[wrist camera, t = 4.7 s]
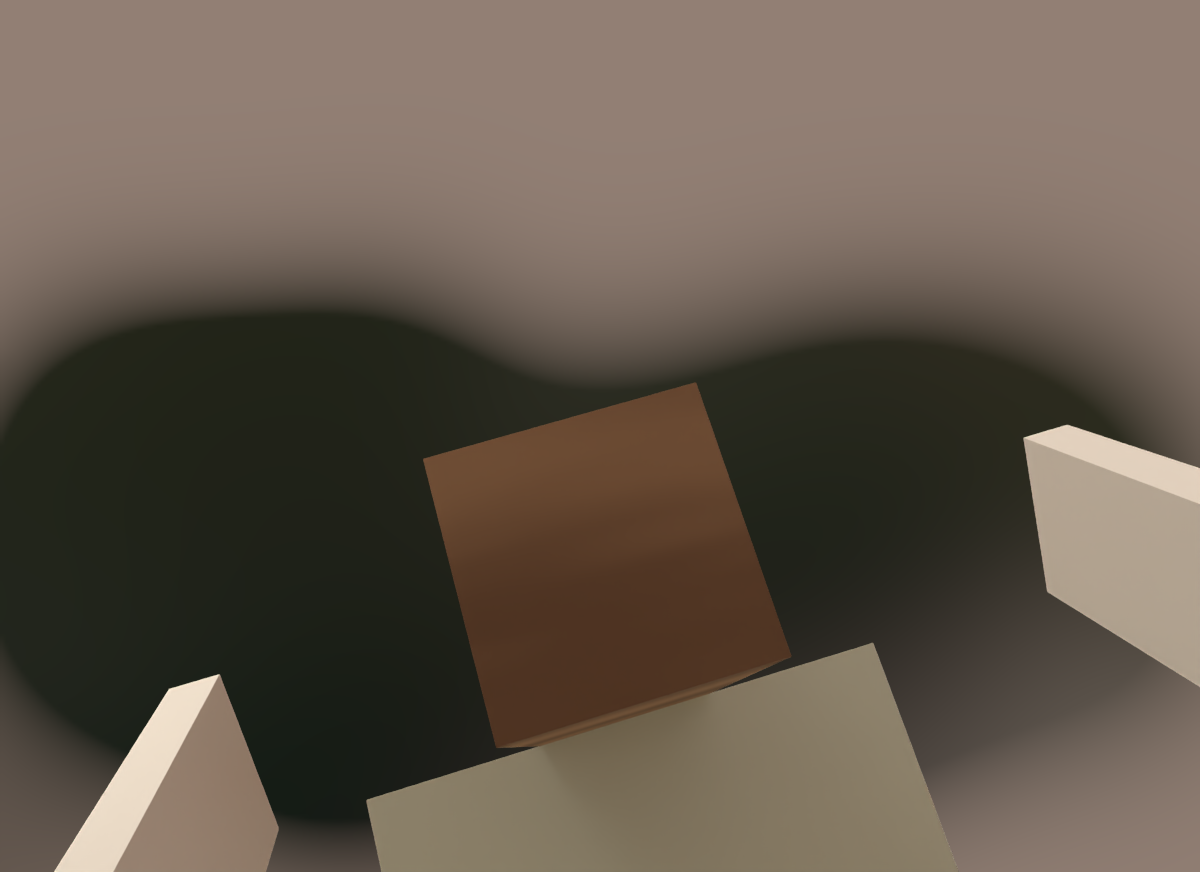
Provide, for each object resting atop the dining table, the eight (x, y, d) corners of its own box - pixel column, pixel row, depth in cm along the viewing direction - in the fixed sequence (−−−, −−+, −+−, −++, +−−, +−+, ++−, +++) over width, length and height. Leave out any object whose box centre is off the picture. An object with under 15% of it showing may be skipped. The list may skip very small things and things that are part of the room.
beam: (791, 656, 13) (695, 382, 14) (495, 747, 13) (422, 458, 14) (658, 716, 42) (630, 624, 43) (567, 745, 41) (541, 652, 42)
